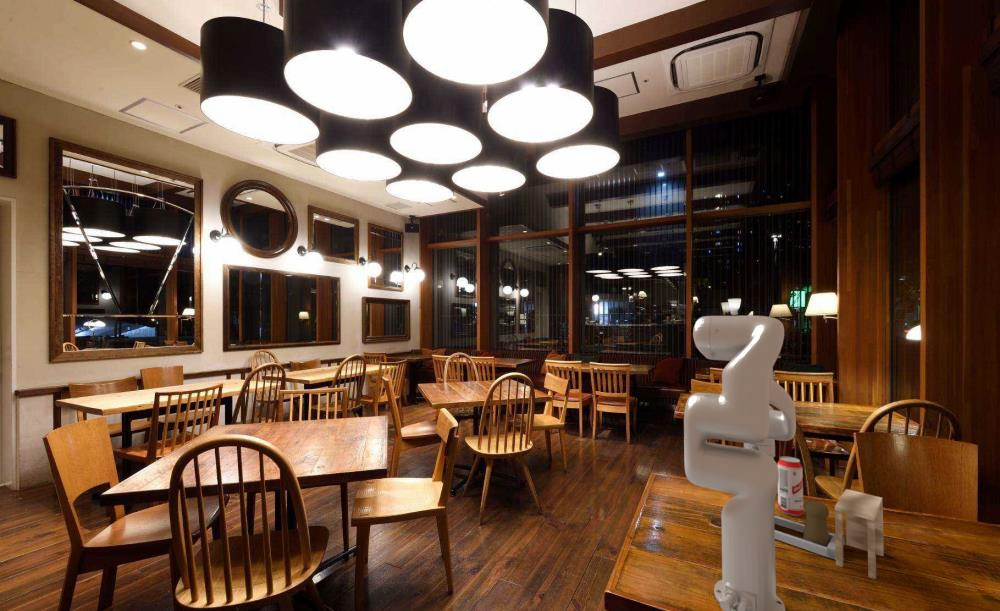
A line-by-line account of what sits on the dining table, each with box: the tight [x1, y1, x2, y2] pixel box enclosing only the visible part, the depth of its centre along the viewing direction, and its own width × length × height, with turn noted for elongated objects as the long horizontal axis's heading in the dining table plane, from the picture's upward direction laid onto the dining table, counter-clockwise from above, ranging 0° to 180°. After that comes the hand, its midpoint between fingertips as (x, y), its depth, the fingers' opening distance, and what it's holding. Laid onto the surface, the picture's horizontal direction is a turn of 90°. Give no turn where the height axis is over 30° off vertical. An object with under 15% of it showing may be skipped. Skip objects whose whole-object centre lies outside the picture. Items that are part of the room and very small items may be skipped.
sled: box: [774, 515, 846, 561], centre depth 111 cm, size 21×10×6 cm, turn 42°
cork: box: [802, 500, 830, 547], centre depth 107 cm, size 6×6×11 cm
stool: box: [834, 488, 885, 580], centre depth 101 cm, size 7×14×14 cm, turn 132°
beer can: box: [776, 455, 804, 517], centre depth 125 cm, size 6×6×16 cm
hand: (760, 513), depth 117 cm, fingers closed
